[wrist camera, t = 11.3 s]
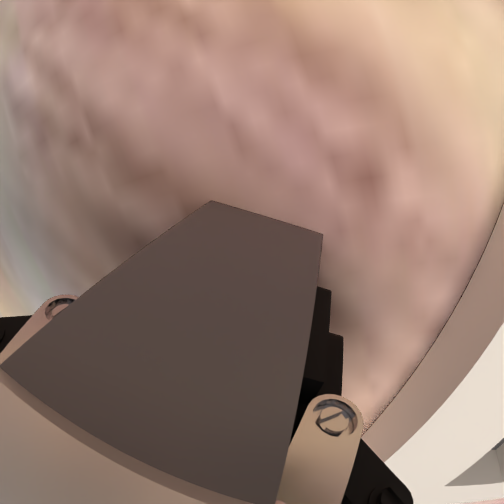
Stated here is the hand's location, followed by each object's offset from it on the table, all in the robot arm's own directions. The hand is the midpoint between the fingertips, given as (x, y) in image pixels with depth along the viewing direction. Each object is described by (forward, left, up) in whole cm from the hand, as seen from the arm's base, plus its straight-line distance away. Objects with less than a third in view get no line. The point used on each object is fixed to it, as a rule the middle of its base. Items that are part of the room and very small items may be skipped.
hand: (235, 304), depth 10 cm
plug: (0, 0, -2) cm, 2 cm away
